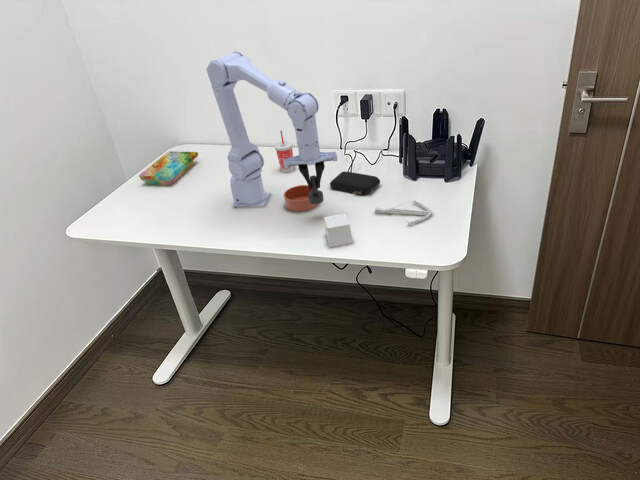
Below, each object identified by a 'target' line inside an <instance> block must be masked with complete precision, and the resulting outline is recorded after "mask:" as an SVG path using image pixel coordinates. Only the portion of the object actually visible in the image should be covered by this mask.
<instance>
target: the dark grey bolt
mask: <svg viewBox="0 0 640 480" xmlns="http://www.w3.org/2000/svg"><path fill="white" fill-rule="evenodd" d="M309 178H310V182H311V187H312V191H311V192H309V193H308V198H309V202H310V203H311V204H318V205H319V204H321V203H323V202H324V199H325V198H324V193H323V191H322V190H319V188H318V187H317V178H316V175H309Z"/></svg>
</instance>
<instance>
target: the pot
mask: <svg viewBox="0 0 640 480" xmlns="http://www.w3.org/2000/svg"><path fill="white" fill-rule="evenodd" d="M311 191H312V189H309V186H308V184H300V185H294V186H292V187H289V188H287V189H286V190H285V191H284V193H283V199H284V200H283V201H284V206H285V208H286V209H287V210H289V211H291V212H296V213H299V212H300V213H301V212H307V211H310V210H313V209H315V208H316V207H317V206H319V204H311V203H310V202H309V198H308V193H309V192H311Z"/></svg>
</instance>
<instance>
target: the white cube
mask: <svg viewBox="0 0 640 480" xmlns="http://www.w3.org/2000/svg"><path fill="white" fill-rule="evenodd" d="M323 220H324V221H323V222H324V228H325V229H324V230H325V235H326V238H327V243H328V245H329V247H330V248H333V247H334V248H335V247H339V246H344V245H349V244H352V243H353V241H352V231H351V223H350V221H349V218H348V216H347V214H346V213H340V214H335V215H330V216H324V217H323Z"/></svg>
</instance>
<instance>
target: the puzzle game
mask: <svg viewBox="0 0 640 480" xmlns="http://www.w3.org/2000/svg"><path fill="white" fill-rule="evenodd" d="M198 156H199V152H198V151H170V150H169V151H167V152H166V153H165V154H163V155H162V156H160V158H158V159H157V160H156V161H154V163H152V164H151V165H150V166H149V167H147V168H146V169H145V170H143V171H142V172H141V173H140V174H139V179H140V180H141V181H143V182H144V183H145V184H147V185H157V186H172V185H173V184H175V182H176V181H178V179H180V178H181V177H182V176H183V175H184V174H185V173H186V172H187V171H188V170H189V169H190V168H192V166H193V165H194V161H195V160H196V159H197V158H198Z"/></svg>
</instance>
